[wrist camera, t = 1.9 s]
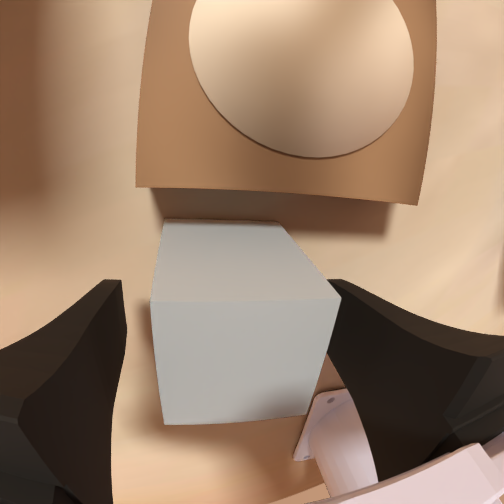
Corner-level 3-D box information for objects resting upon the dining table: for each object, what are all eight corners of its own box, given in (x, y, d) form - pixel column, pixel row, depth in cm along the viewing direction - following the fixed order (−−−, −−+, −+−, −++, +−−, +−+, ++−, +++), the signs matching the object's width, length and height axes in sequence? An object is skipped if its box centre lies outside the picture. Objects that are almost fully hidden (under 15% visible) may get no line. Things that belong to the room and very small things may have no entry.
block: (277, 221, 13) (341, 297, 8) (265, 314, 15) (306, 414, 9) (164, 218, 12) (149, 301, 7) (166, 315, 14) (164, 424, 8)
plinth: (401, -10, 9) (435, -23, 7) (383, 190, 13) (418, 206, 11) (175, -60, 7) (175, -93, 5) (146, 173, 11) (135, 188, 9)
